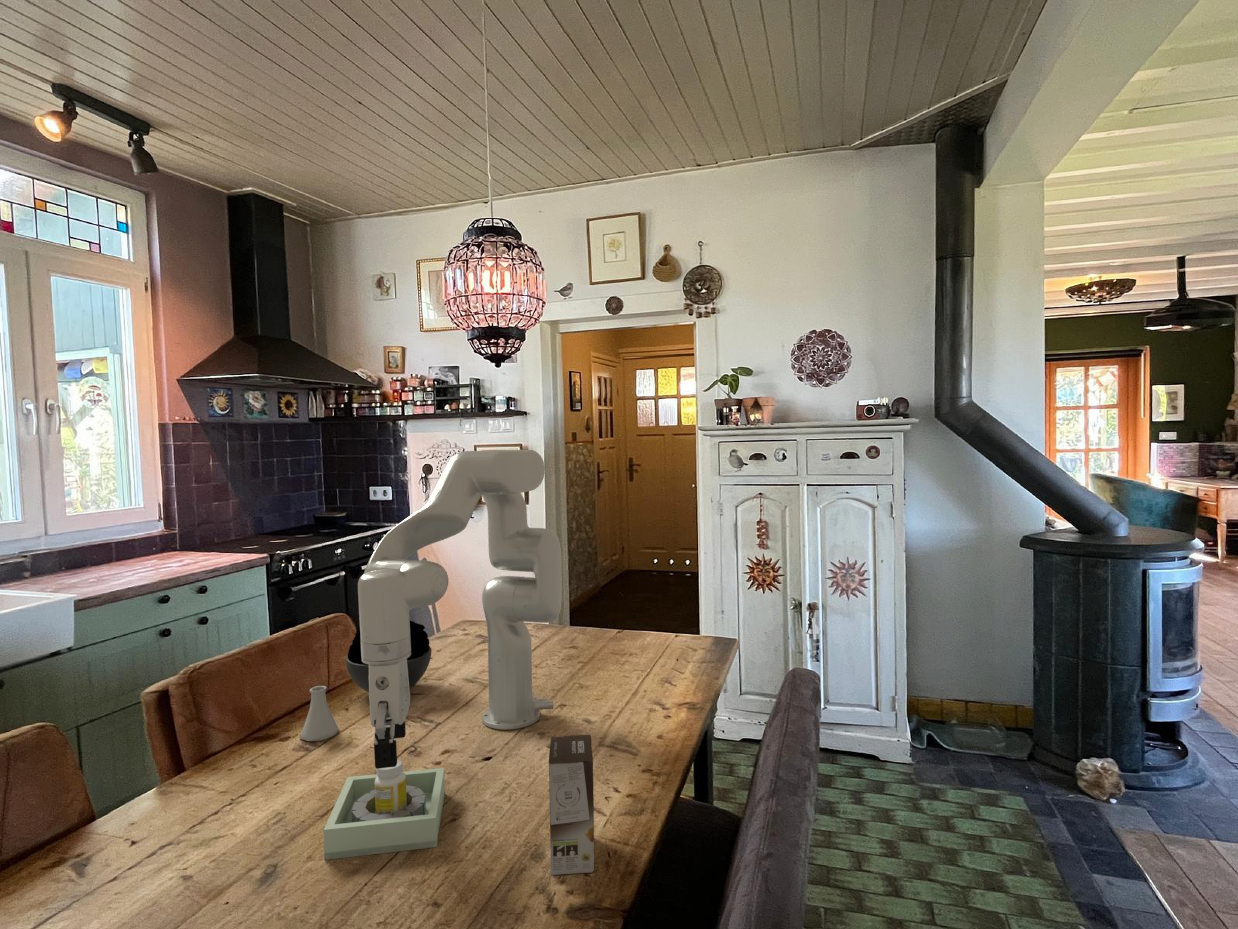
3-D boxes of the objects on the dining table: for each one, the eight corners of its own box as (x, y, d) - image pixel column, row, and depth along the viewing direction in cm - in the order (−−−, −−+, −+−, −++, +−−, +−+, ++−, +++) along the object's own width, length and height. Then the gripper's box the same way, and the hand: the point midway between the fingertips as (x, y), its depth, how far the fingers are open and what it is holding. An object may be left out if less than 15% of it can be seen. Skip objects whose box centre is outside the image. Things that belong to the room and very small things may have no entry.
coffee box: (595, 873, 95) (593, 761, 95) (550, 876, 95) (548, 764, 94) (592, 835, 104) (591, 733, 104) (551, 838, 104) (549, 735, 103)
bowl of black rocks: (335, 691, 168) (333, 616, 167) (414, 673, 180) (412, 603, 179) (362, 716, 152) (359, 633, 151) (445, 694, 164) (443, 618, 164)
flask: (324, 744, 138) (322, 695, 138) (292, 741, 140) (291, 693, 139) (345, 729, 145) (343, 683, 145) (315, 726, 147) (314, 681, 146)
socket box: (444, 793, 118) (444, 767, 118) (436, 847, 102) (435, 817, 102) (348, 803, 115) (347, 777, 115) (324, 860, 99) (323, 830, 99)
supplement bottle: (402, 806, 112) (400, 755, 112) (411, 817, 108) (409, 764, 108) (372, 815, 109) (370, 763, 109) (380, 827, 105) (378, 773, 105)
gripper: (403, 665, 100) (408, 776, 101) (416, 629, 117) (421, 725, 118) (349, 669, 99) (355, 782, 100) (371, 633, 116) (376, 730, 117)
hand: (391, 751), depth 109 cm, fingers open, 9 cm apart
